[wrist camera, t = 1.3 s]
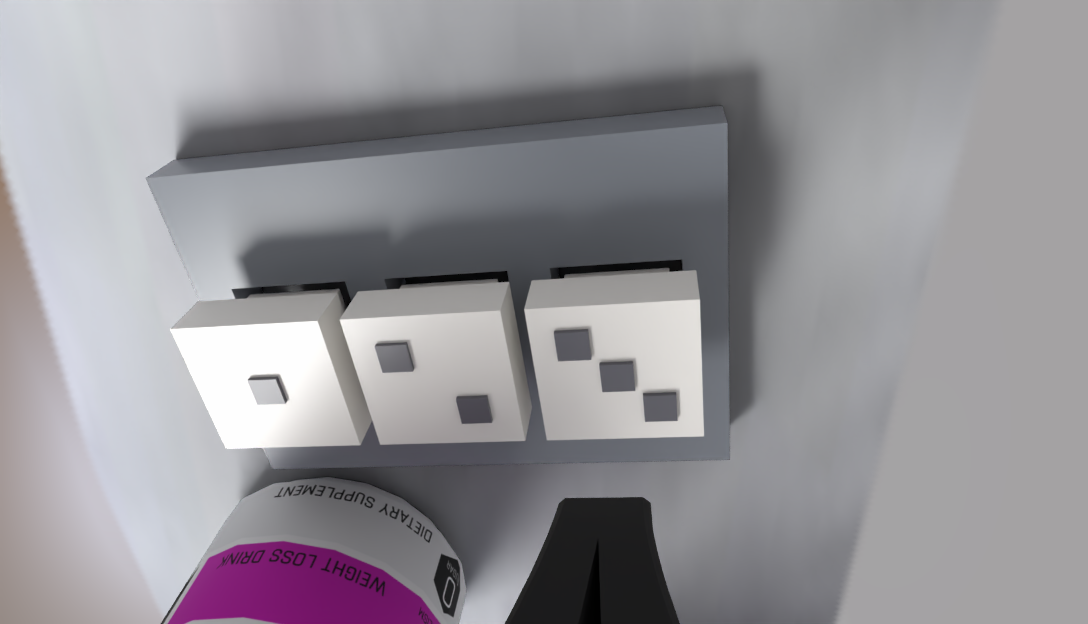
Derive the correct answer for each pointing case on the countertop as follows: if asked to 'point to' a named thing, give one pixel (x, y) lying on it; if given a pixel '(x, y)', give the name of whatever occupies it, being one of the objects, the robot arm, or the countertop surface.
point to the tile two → (440, 362)
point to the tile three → (618, 354)
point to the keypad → (472, 241)
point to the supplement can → (324, 561)
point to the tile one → (275, 369)
